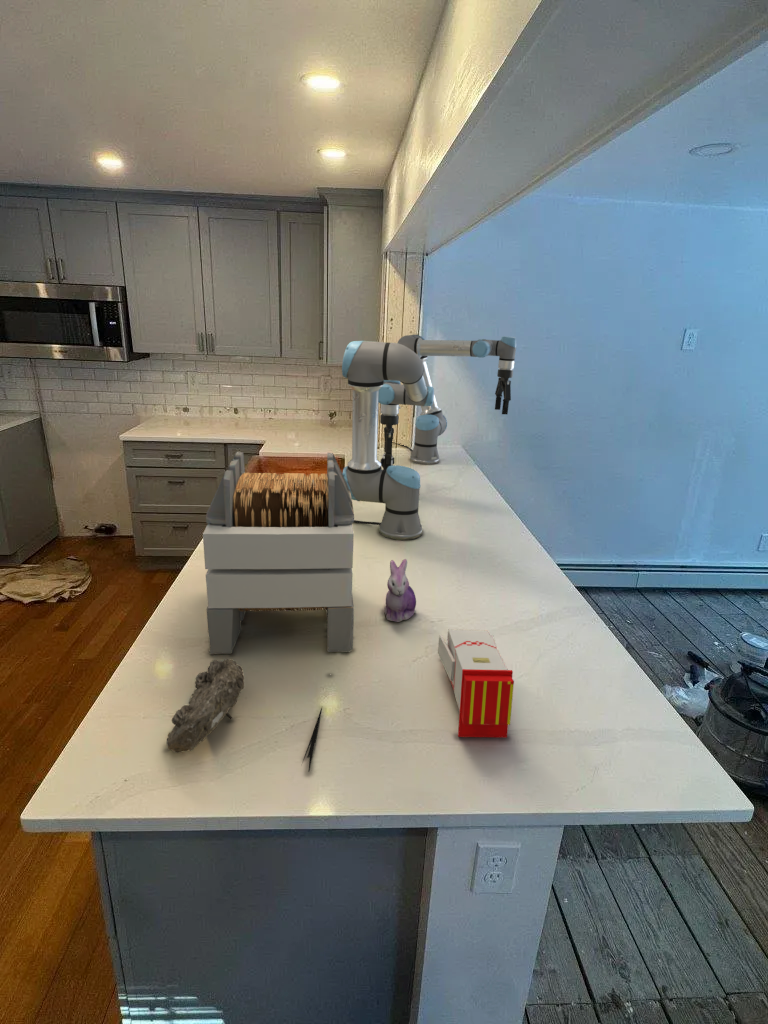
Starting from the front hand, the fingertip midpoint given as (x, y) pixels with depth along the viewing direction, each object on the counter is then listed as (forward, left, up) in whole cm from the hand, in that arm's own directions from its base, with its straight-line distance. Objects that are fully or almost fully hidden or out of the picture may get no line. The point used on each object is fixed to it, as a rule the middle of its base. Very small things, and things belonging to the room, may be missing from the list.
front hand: (387, 469), depth 240 cm
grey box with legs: (+63, -88, -11) cm, 109 cm away
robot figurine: (0, 0, -1) cm, 1 cm away
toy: (+112, -73, -11) cm, 134 cm away
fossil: (+87, -119, -11) cm, 147 cm away
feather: (+100, -103, -11) cm, 144 cm away
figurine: (+79, -64, -11) cm, 103 cm away
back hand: (-6, +81, +17) cm, 83 cm away
